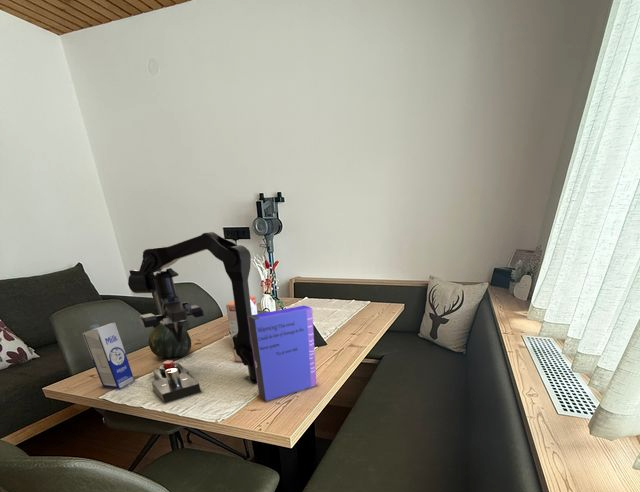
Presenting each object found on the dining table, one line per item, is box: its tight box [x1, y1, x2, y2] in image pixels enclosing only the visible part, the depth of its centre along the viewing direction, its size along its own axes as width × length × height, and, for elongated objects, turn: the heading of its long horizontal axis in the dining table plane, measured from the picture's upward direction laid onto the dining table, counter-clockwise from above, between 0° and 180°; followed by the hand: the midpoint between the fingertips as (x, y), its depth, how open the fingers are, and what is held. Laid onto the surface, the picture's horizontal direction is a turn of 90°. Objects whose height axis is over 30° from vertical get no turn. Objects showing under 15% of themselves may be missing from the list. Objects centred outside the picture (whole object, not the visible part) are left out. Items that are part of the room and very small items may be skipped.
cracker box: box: [225, 295, 258, 363], centre depth 132 cm, size 14×6×21 cm, turn 168°
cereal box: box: [247, 305, 318, 402], centre depth 103 cm, size 17×5×24 cm, turn 124°
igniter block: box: [152, 362, 190, 380], centre depth 121 cm, size 10×9×4 cm
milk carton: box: [81, 322, 135, 390], centre depth 113 cm, size 7×7×20 cm
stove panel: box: [150, 372, 202, 404], centre depth 111 cm, size 12×11×3 cm
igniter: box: [162, 360, 175, 368], centre depth 120 cm, size 3×3×2 cm
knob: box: [165, 368, 181, 385], centre depth 109 cm, size 4×4×4 cm
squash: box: [148, 322, 192, 359], centre depth 137 cm, size 14×15×15 cm
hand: (179, 342), depth 117 cm, fingers closed
